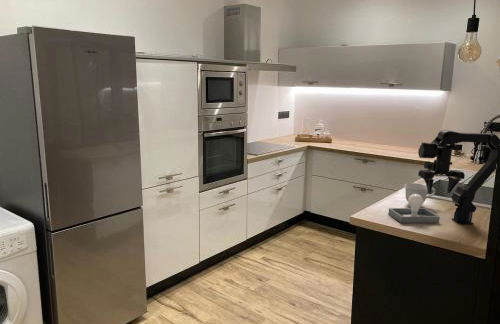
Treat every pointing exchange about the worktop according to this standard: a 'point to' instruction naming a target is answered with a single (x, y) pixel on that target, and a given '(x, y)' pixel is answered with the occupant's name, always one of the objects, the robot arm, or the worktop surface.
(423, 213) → the tray
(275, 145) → the worktop surface
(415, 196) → the lightbulb
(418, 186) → the teacup
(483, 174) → the robot arm
